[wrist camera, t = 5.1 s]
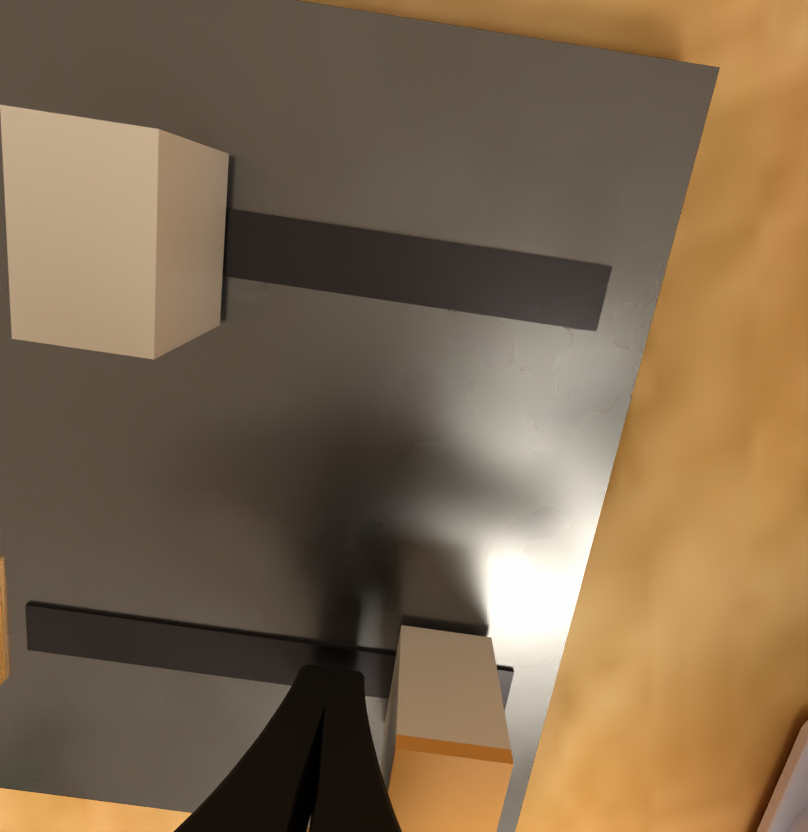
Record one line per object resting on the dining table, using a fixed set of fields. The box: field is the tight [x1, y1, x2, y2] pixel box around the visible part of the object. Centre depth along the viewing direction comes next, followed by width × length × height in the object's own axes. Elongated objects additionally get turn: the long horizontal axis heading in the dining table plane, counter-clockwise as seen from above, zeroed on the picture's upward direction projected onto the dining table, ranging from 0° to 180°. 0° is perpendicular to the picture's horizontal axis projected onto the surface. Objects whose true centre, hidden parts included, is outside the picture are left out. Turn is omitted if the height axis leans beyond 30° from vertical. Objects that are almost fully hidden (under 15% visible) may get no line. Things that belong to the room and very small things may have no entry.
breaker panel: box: [0, 0, 719, 832], centre depth 13 cm, size 14×18×2 cm
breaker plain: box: [0, 105, 229, 359], centre depth 10 cm, size 2×3×3 cm, turn 172°
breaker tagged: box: [380, 625, 514, 832], centre depth 12 cm, size 2×3×3 cm, turn 172°
